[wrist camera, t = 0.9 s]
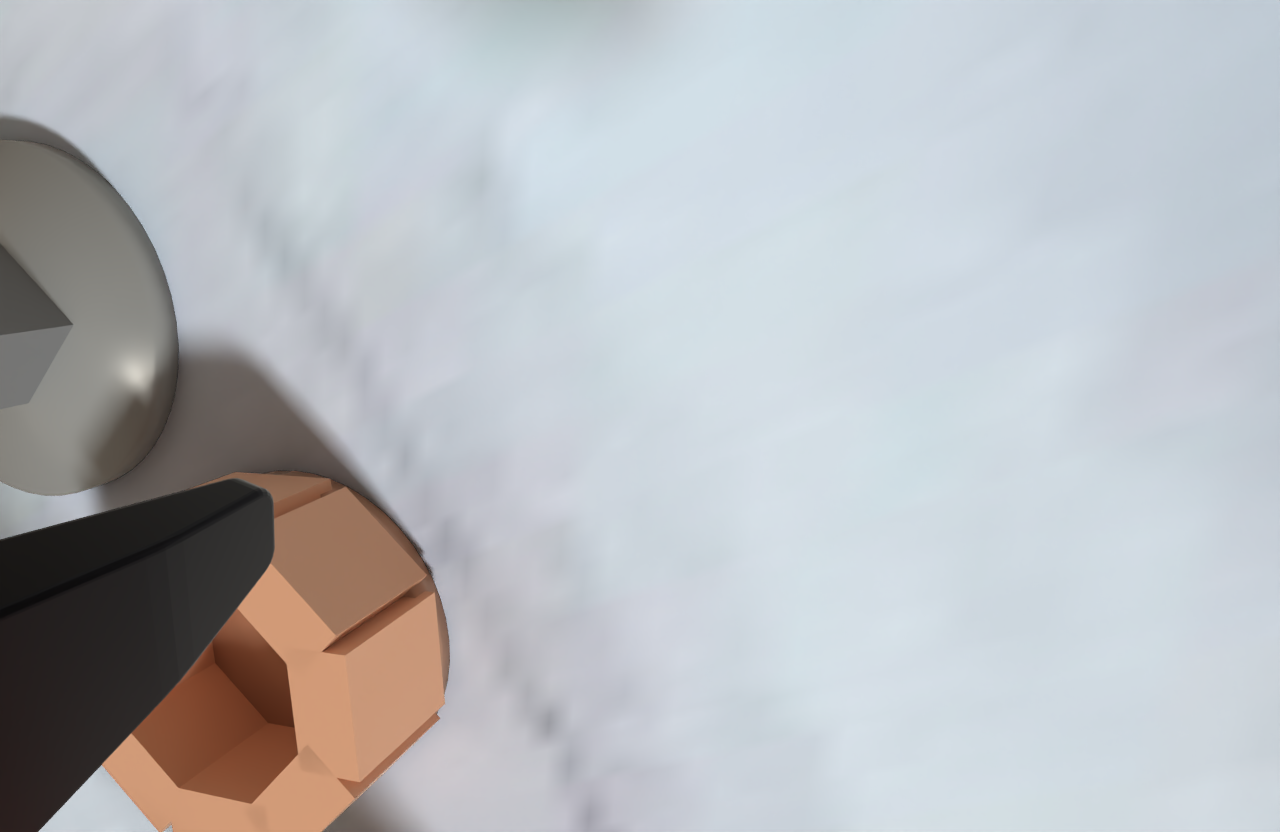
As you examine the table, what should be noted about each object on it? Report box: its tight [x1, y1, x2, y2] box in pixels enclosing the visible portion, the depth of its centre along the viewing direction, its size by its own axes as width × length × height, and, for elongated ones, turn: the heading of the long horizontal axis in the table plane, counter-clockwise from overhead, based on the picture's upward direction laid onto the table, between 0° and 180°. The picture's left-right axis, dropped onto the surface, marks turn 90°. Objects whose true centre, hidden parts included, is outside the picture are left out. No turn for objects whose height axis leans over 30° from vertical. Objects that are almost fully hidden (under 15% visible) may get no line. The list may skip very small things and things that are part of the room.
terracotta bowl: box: [102, 471, 450, 832], centre depth 27 cm, size 10×10×4 cm
